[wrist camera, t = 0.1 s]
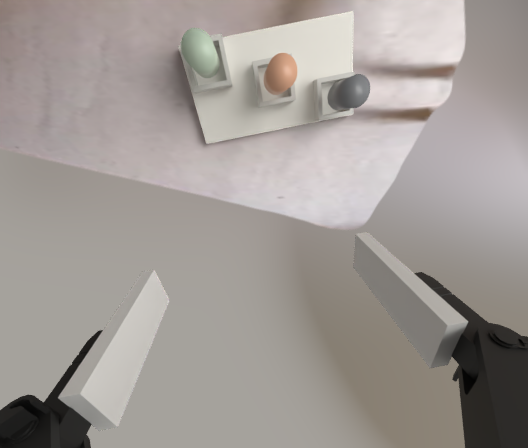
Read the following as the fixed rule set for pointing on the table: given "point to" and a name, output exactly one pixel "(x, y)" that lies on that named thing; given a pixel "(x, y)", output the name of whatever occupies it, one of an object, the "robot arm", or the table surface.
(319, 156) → the table surface
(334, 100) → the charcoal plunger
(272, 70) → the terracotta plunger
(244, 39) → the button board
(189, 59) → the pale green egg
